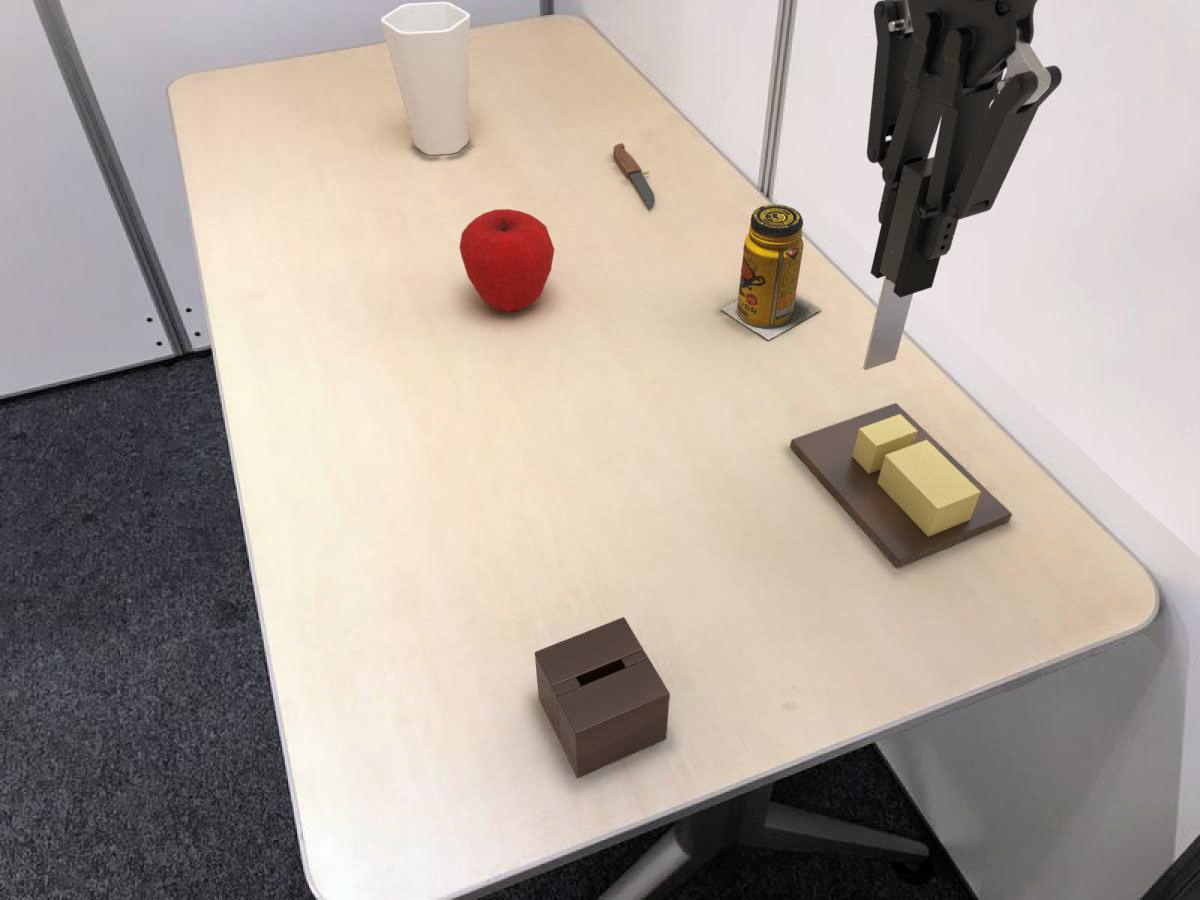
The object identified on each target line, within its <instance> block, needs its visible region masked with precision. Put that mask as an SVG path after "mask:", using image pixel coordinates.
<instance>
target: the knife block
mask: <svg viewBox="0 0 1200 900" xmlns="http://www.w3.org/2000/svg"><path fill="white" fill-rule="evenodd" d="M534 660H535V671H536V672H535V673H536V683H537V693H538V700H539V702H540V704H541V706H542V708H543V710H544V712H545V714H546V716H547V719H548V720H549V723H550V724H551V727H552V728H553V731H554V733H555V735H556V737H557V739H558V741H559V744H560V745H561V748H562V750H563V752H564V754H565V755H566V758H567V760H568V762H569V764H570V766H571V768H572V770H573V772H574V775H575V777H576V778H580V777H583V776H585V775H587V774H589V773H592V772H593V771H596V770H598V769H600V768H602V767H603V768H604V767H606V766H607V765H610V764H612V763H614V762H616V761H619V760H621V759H623V758H625V757H628V756H630V755H632V754H634V753H636V752H639V751H641V750H645V749H646V748H648V747H650V746H653V745H655V744H657V743H659V742H662V741H664V740H666V739H667V734H668V720H669V710H670V709H669V708H670V697H671V693H670V691H669V689H668V688H667V686H666V684H665V683H664V681H663V679H662V677H661V676H660V673H659V672H658V671H657V669H656V668H655V665H654V664H653V663H652V661H651V659H650V658H649V656H648V654H647V653H646V651H645V650H644V648H643V646H642V644H641V643H640V641H639V639H638V638H637V635H636V634H635V633H634V631H633V629H632V627H631V625H630V624H629V622H628V620H627V619H626V618H625V617H624V616H622V617H620V618H617V619H615V620H612V621H610V622H608V623H605V624H601V625H599V626H597V627H595V628H592V629H590V630H589V629H588V630H586V631H584V632H582V633H579V634H577V635H574V636H572V637H569V638H567V639H565V640H561V641H558V642H556V643H554V644H551V645H548V646H545V647H544V648H541V649H539V650H536V651H535V652H534Z"/></svg>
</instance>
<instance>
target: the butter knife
mask: <svg viewBox="0 0 1200 900" xmlns="http://www.w3.org/2000/svg"><path fill="white" fill-rule="evenodd" d="M933 161H934V156H932V157H928V159H925V160H921V161H917V162H914V163H910V164H906V165H904V167H903V171H902V176H901V180H900V184H899V188H898V193H897V197H896V201H895V206H894V210H893V214H892V218H891V223H890V227H889V231H888V236H887V240H886V244H885V248H884V253H883V257H882V261H881V266H880V270H879V272H880V273H881V274H883V275H884V277H883V278H884V279H883V283H882V287H881V291H880V294H879V299H878V304H877V306H876V307H877V308H876V312H875V315H874V320H873V324H872V329H871V333H870V337H869V341H868V345H867V349H866V354H865V357H864V362H863V366H862V369H863V370H864V371H868V370H870V369H873V368H876V367H879V366H882V365H885V364H887V363H890V362H893V361H896V359H897V355H898V351H899V348H900V345H901V341H902V336H903V333H904V329H905V326H906V321H907V318H908V315H909V310H910V307H911V304H912V300H913V295H914V293H913V294H910V295H907V296H904V297H901V298H900V297H899V296H898V295H896V294H895V293H894V292H893V291H894V287H895V283H896V279H897V275H898V271H899V267H900V263H901V259H902V255H903V251H904V246H905V242H906V238H907V234H908V230H909V226H910V222H911V218H912V214H913V210H914V207H916V205H920V204H923V203H926V199H927V194H928V188H929V183H930V177H931V172H932V166H933Z"/></svg>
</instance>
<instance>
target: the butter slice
mask: <svg viewBox="0 0 1200 900" xmlns="http://www.w3.org/2000/svg"><path fill="white" fill-rule="evenodd" d="M917 432H918V431H917V430H916V429H915V428H914V427H913V426H912V425H911V424H910V423H909V422H908V421H907V420H906V419H905V418H904V417H903V416H902V415H901V414H899V415H896V416H893V417H890V418H888V419H885V420H882V421H879V422H876V423H874V424H871V425H868V426H865V427H862V428H860V429H859V432H858V436H857V440H856V444H855V448H854V452H853V458H854V459H855V460H856V461H857V462H858V463H859V464H860V465H861V466H862V467H863V468H864V469H865V470H866V471H867V473H868V474H870V473H873V472H875V471H878V470H881V468H882V465H883V461H884V458H885V455H887V454H889V453H892V452H895V451H898V450H900V449H903V448H906V447H908V446H911V445H914V441H915V438H916V435H917Z"/></svg>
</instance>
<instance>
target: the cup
mask: <svg viewBox="0 0 1200 900" xmlns="http://www.w3.org/2000/svg"><path fill="white" fill-rule="evenodd" d="M380 24H381V27H382V31H383V35H384V38H385V42H386V45H387V49H388V52H389V56H390V60H391V63H392V68H393V71H394V74H395V79H396V82H397V85H398V89H399V93H400V96H401V99H402V102H403V107H404V111H405V115H406V117H407V122H408V124H409V129H410V133H411V136H412V140H413V143H414V146H415V148H418V149H419V150H420V151H421V152H422V153H424V154H425V155H428V156H429V155H430V156H436V155H437V156H438V155H451V154H455V153H456V154H457V153H458V152H460V151H461V150H462V149H463V148H464V147H465V146H466V145H467V144H469V114H470V111H469V110H470V109H469V108H470V107H469V106H470V47H471V46H470V41H471V39H470V38H471V32H470V31H471V29H470V28H471V14H470V12H467V11H466V10H464V9H462V8H460V7H458V6H456V5H455V4H453V3H451V2H448V1H433V2H411V3H410V2H409V3H405V4H401V5H399V6H397V7H396V8H395V9H393V10H392V11H390V12H388V13H387V14H385V15H383V16H382V17H381V18H380Z"/></svg>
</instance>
